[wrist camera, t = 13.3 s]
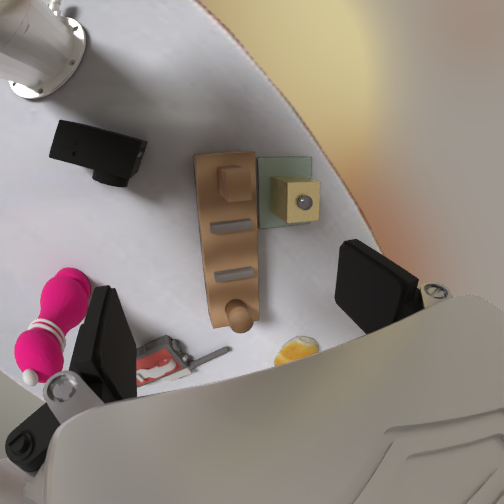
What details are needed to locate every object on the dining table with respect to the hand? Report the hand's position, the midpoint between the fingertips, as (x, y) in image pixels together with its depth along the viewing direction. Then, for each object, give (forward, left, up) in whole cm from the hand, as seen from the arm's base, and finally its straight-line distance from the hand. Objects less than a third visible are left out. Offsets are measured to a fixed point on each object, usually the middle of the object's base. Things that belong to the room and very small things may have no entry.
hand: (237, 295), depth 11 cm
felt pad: (+2, +13, -28) cm, 31 cm away
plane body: (+8, +4, -28) cm, 29 cm away
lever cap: (+2, +13, -27) cm, 30 cm away
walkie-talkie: (+28, -7, -28) cm, 40 cm away
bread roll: (+33, +16, -28) cm, 46 cm away
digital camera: (-6, -11, -28) cm, 30 cm away
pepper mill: (+12, -20, -28) cm, 36 cm away
